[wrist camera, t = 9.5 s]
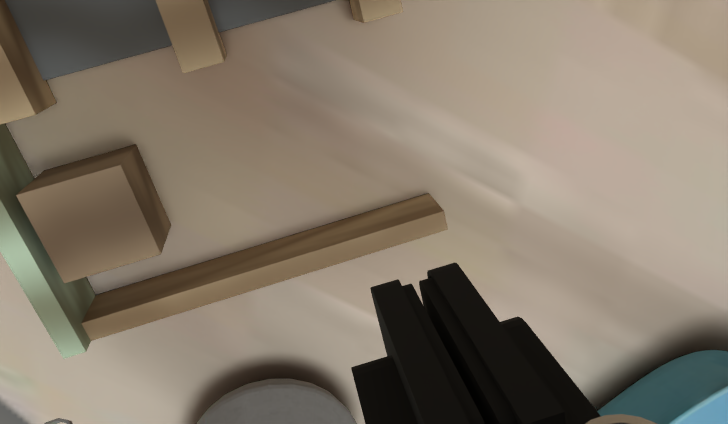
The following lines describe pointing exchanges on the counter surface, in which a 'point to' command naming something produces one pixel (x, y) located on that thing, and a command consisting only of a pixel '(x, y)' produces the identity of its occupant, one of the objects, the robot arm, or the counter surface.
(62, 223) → the walnut block
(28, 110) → the trap box
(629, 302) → the counter surface
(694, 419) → the casserole dish
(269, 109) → the counter surface
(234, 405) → the coffee pot
